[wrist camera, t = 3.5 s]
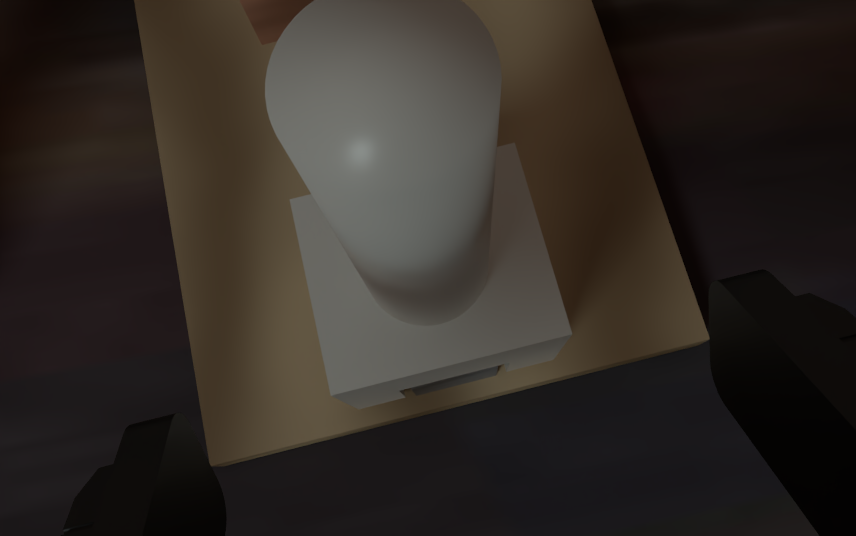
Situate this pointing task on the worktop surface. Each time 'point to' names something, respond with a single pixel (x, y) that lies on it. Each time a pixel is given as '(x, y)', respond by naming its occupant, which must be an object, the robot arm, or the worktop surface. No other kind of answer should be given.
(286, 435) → the track
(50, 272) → the worktop surface
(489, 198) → the white handled block
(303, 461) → the worktop surface
